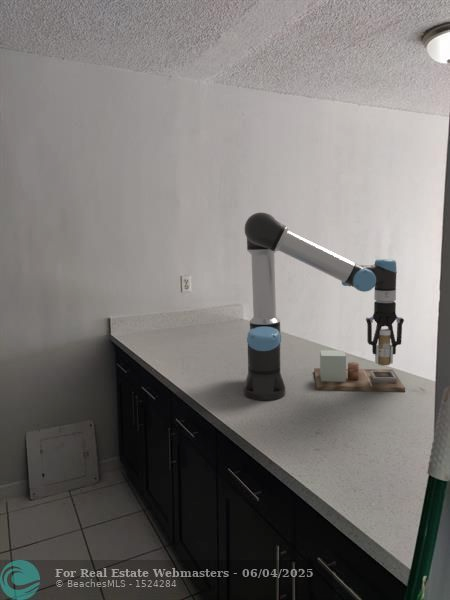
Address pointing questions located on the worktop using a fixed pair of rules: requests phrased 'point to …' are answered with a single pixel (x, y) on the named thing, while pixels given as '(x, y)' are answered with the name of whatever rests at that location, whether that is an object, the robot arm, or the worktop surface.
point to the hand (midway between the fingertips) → (383, 362)
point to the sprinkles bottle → (384, 347)
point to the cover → (332, 366)
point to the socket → (383, 377)
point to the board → (358, 381)
